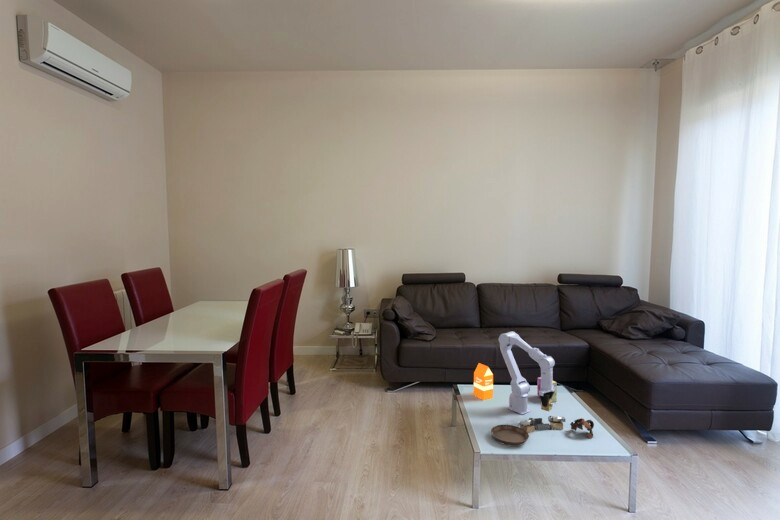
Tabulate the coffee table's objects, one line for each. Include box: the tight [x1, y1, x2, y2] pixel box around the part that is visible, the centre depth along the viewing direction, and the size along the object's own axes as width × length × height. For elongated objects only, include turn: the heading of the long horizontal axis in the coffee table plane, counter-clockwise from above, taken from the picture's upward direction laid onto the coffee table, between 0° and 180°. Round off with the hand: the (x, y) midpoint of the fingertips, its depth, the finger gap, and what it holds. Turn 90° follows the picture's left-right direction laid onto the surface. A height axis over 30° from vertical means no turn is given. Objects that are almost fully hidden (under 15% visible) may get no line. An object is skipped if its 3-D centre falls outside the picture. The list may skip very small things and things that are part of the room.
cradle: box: [533, 417, 550, 431], centre depth 198 cm, size 6×7×3 cm
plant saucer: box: [490, 424, 530, 447], centre depth 186 cm, size 18×18×3 cm
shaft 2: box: [547, 415, 566, 430], centre depth 197 cm, size 8×4×6 cm, turn 86°
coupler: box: [540, 397, 553, 412], centre depth 203 cm, size 6×4×6 cm
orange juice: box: [473, 362, 494, 401], centre depth 235 cm, size 8×9×20 cm
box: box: [536, 376, 558, 403], centre depth 231 cm, size 10×6×12 cm, turn 17°
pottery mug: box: [569, 417, 595, 440], centre depth 191 cm, size 12×10×8 cm
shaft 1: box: [519, 417, 535, 434], centre depth 194 cm, size 8×4×6 cm, turn 116°
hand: (546, 405), depth 204 cm, fingers closed on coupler, 4 cm apart
